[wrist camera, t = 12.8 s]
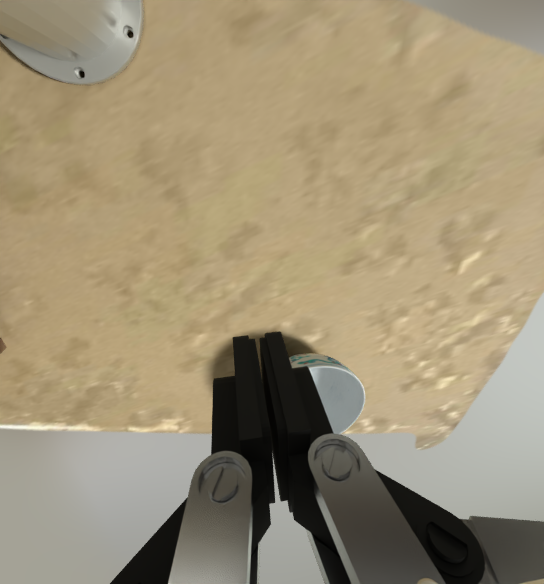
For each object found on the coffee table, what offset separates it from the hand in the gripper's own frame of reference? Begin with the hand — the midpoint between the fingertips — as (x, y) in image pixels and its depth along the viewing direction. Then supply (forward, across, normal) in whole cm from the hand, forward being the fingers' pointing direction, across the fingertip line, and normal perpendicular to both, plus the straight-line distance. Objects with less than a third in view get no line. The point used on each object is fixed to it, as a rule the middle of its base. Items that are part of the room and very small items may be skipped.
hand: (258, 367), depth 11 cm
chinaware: (+27, -8, +26) cm, 39 cm away
